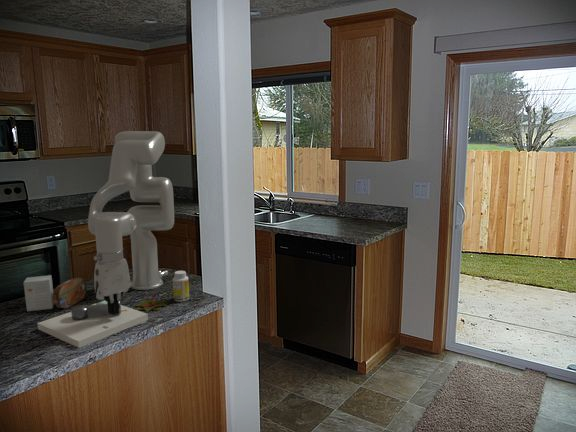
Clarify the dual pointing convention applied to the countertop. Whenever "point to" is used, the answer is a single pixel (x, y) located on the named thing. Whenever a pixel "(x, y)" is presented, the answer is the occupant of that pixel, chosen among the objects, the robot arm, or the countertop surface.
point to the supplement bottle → (180, 286)
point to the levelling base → (91, 326)
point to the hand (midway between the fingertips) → (113, 313)
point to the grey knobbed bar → (90, 311)
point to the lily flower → (150, 304)
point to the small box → (39, 293)
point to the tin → (69, 292)
